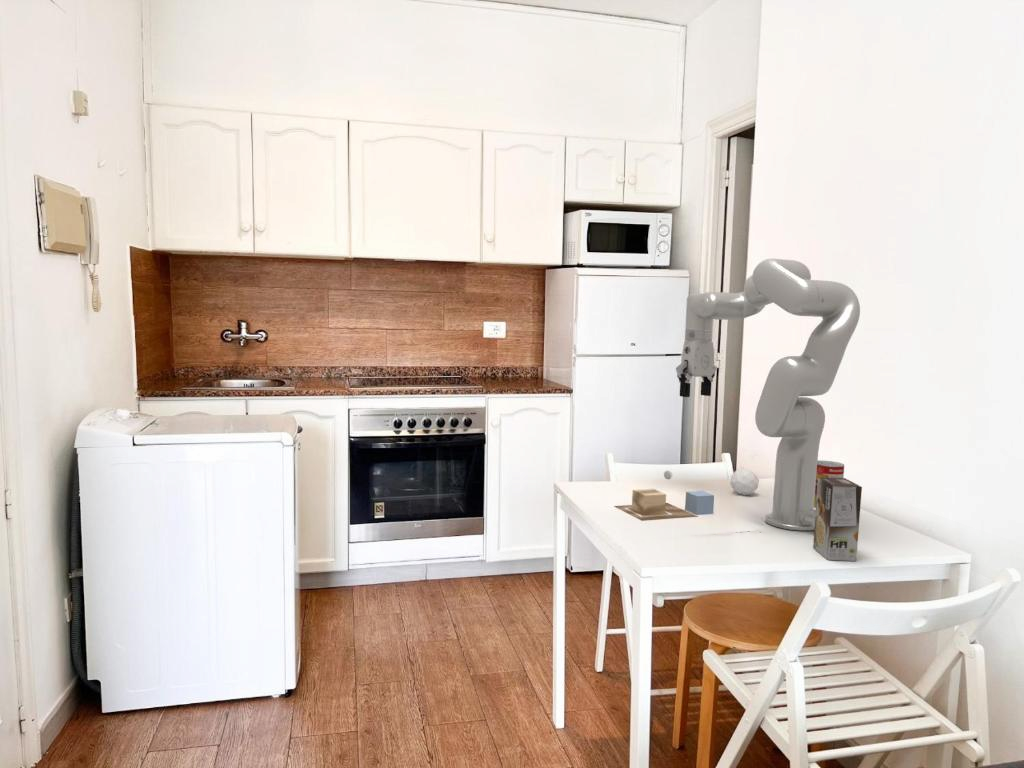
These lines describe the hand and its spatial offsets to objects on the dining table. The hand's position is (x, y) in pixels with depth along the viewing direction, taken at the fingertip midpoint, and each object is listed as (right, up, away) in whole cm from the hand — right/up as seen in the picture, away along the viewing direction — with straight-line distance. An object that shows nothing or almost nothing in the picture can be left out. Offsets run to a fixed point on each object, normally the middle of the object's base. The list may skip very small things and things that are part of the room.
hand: (695, 396), depth 217 cm
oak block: (-19, -29, -29) cm, 45 cm away
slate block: (-6, -30, -27) cm, 41 cm away
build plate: (-17, -30, -28) cm, 44 cm away
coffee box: (+17, -34, -54) cm, 66 cm away
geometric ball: (+14, -29, 0) cm, 32 cm away
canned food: (+33, -30, -11) cm, 46 cm away
